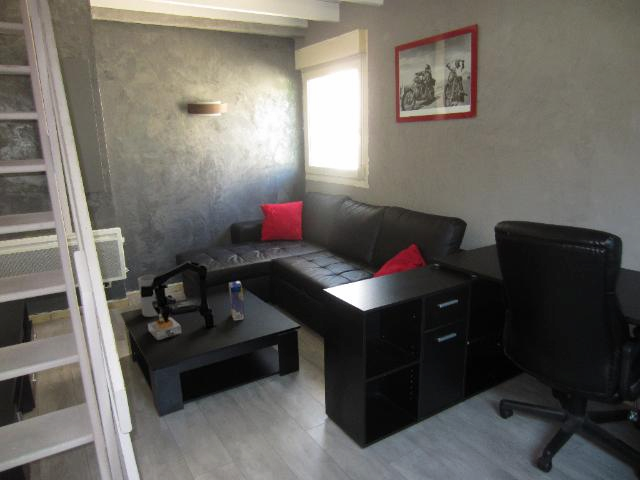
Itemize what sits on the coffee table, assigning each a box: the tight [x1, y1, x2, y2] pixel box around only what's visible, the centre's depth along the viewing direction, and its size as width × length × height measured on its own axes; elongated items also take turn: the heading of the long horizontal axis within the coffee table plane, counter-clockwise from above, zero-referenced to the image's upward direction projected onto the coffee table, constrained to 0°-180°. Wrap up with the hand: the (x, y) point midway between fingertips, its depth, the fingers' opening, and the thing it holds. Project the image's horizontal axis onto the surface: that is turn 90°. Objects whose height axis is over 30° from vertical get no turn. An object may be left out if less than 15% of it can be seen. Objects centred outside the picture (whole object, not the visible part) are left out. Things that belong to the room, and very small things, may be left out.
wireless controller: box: [172, 299, 199, 315], centre depth 301 cm, size 20×14×17 cm
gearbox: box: [147, 316, 182, 341], centre depth 266 cm, size 19×14×7 cm
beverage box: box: [228, 280, 245, 321], centre depth 285 cm, size 7×11×22 cm, turn 18°
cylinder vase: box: [137, 274, 158, 318], centre depth 294 cm, size 12×12×25 cm
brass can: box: [158, 313, 165, 324], centre depth 266 cm, size 5×5×7 cm
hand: (163, 320), depth 266 cm, fingers open, 9 cm apart
